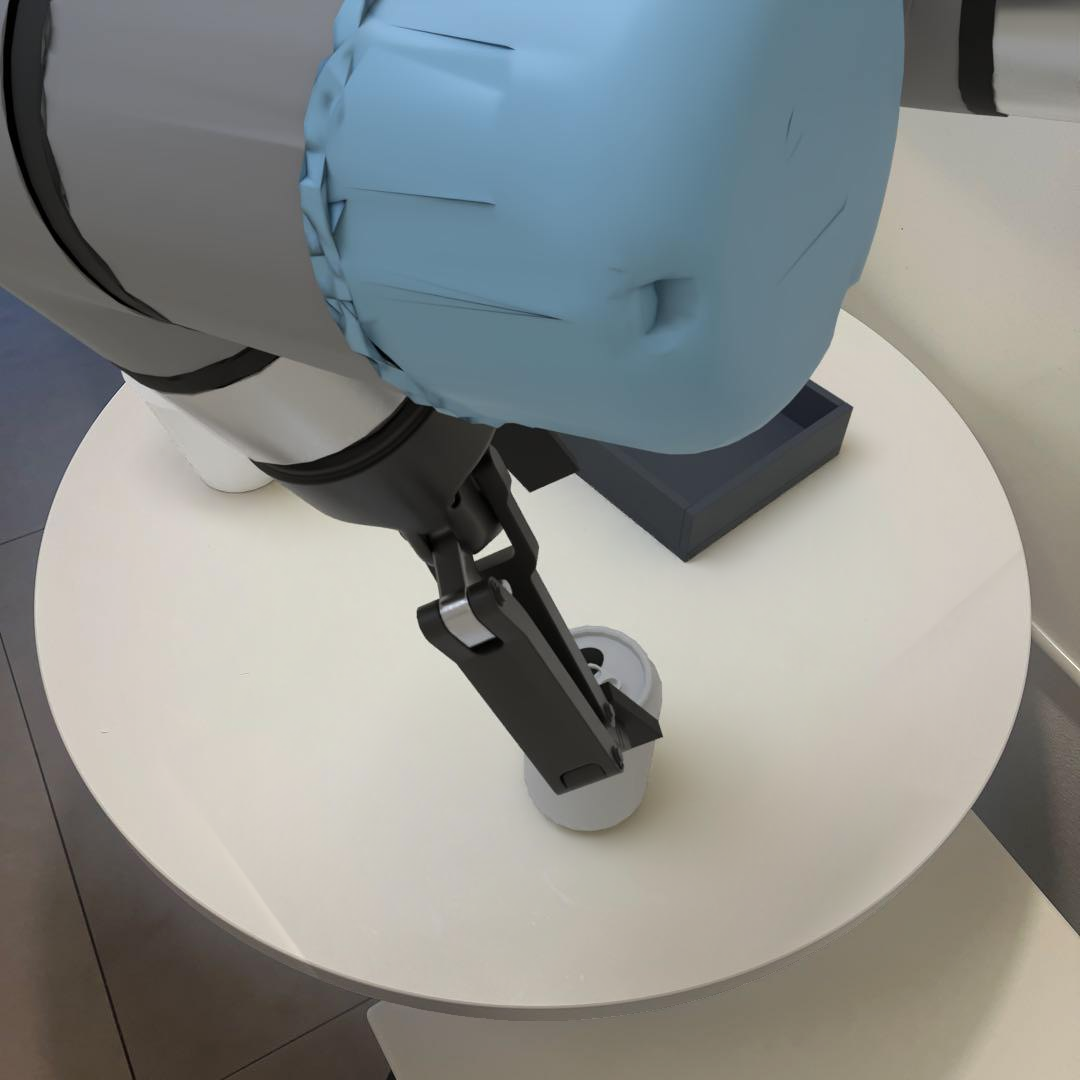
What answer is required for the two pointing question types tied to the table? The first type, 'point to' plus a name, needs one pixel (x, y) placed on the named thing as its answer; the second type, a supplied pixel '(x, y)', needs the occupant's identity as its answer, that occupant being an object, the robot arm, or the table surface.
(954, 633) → the table surface
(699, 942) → the table surface
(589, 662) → the can
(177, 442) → the cup
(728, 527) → the tray
